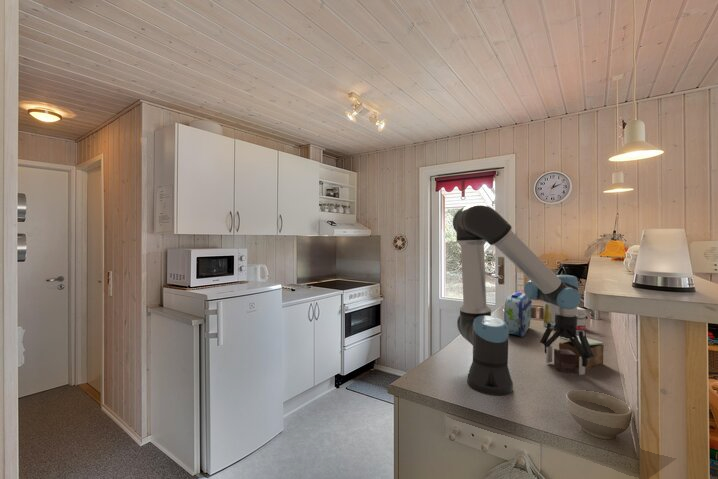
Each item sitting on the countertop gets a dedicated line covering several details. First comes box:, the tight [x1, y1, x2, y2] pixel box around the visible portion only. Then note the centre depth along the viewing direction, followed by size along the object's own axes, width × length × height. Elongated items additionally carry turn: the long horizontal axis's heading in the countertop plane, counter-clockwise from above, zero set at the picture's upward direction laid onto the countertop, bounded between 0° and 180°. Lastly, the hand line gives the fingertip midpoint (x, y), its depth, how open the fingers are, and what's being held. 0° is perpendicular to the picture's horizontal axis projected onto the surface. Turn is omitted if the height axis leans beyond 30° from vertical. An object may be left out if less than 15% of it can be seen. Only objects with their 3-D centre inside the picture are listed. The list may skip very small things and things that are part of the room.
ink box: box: [576, 306, 587, 331], centre depth 190 cm, size 9×5×12 cm, turn 179°
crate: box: [558, 340, 605, 371], centre depth 140 cm, size 14×10×8 cm
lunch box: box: [503, 292, 532, 338], centre depth 183 cm, size 26×11×21 cm, turn 144°
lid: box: [559, 335, 605, 345], centre depth 140 cm, size 14×10×1 cm
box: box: [553, 348, 577, 374], centre depth 133 cm, size 6×6×7 cm
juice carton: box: [543, 301, 556, 330], centre depth 191 cm, size 9×8×24 cm
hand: (564, 367), depth 133 cm, fingers open, 12 cm apart
